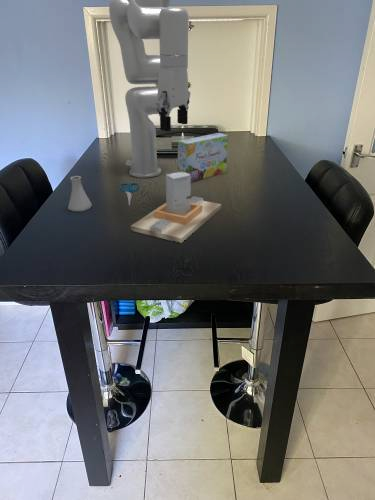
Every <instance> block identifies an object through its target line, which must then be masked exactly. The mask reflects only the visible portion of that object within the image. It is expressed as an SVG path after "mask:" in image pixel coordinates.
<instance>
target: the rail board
mask: <svg viewBox="0 0 375 500" xmlns="http://www.w3.org/2000/svg"><path fill="white" fill-rule="evenodd" d="M221 209H222V204H221V203H216V202H212V201H208V200H206V201H205V200H204V198H203V197H200V196H199V197H198V196H191V211H190V212H189V213H188V214H186V215H185V216H182V215H177V214H172V213H168V212H167V204H166V202H165V203H163V204H162V205H160V206H158V207H157V208H155V209H154V210H153V211H151V212H150V213H148V214H147V215H145V216H143V217H142V218H140V219H139V220H137V221H136V222H134V223H133V224H131V225H130V231H131V232H135V233H138V234H139V233H140V234H143V235H146V236H151V237H155V238H158V239H163V240H167V241H171V242H174V241H175V243H178V242H179V243H178V244H182V243H183V242H185V241H184V240H188V238H189V237H190V236H192V235H193V234H194V233H195V232H196V231H197V230H199V228H200V227H202V226H203V225H204V224H205V223H206V222H208V221H209V220H210V219H211V218H212V217H213V216H214V215H216V213H218V212H219V211H220V210H221ZM192 233H193V234H192Z"/></svg>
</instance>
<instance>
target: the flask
mask: <svg viewBox="0 0 375 500" xmlns="http://www.w3.org/2000/svg"><path fill="white" fill-rule="evenodd" d="M69 179H70V181H71V193H70V197H69V201H68V206H67V210H68V211H69V210H70V211H72V212H84V211H87V210H90V209H91V207H92V206H93V203H92V202H91V200H90V199H89V197H88V195H87V194H86V193H87V192H85V189H84V188H83V185H82V180H81V179H82V176H79V175H74V176H70V178H69Z"/></svg>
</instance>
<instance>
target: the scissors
mask: <svg viewBox="0 0 375 500" xmlns="http://www.w3.org/2000/svg"><path fill="white" fill-rule="evenodd" d="M127 185H128V186H127ZM123 186H127V188H122V187H123ZM132 186H137V187H135V188H132ZM139 187H140V185H139V183H137V182H132V183H130V184H129V183H121V184H120V185H119V189H120V191H121V192H123V193H125V195H127V199H128V201H127V202H128V206H130V205H131V200H132V195H133V194H132V193H135V192H138V190H139Z"/></svg>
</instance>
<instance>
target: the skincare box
mask: <svg viewBox="0 0 375 500" xmlns="http://www.w3.org/2000/svg"><path fill="white" fill-rule="evenodd" d="M191 183H192V182H191V175H190V174H188V173H185V172H178V171H177V172H172V173H166V174H165V196H166V198H165V199H166V201H165V203H166V204H167V212H168V213H172V214H177V215H182V216H185V215H186V214H188V213H189V212H190V211H191V197H192V196H191V195H192V194H191V193H192V192H191V191H192V190H191Z"/></svg>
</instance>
